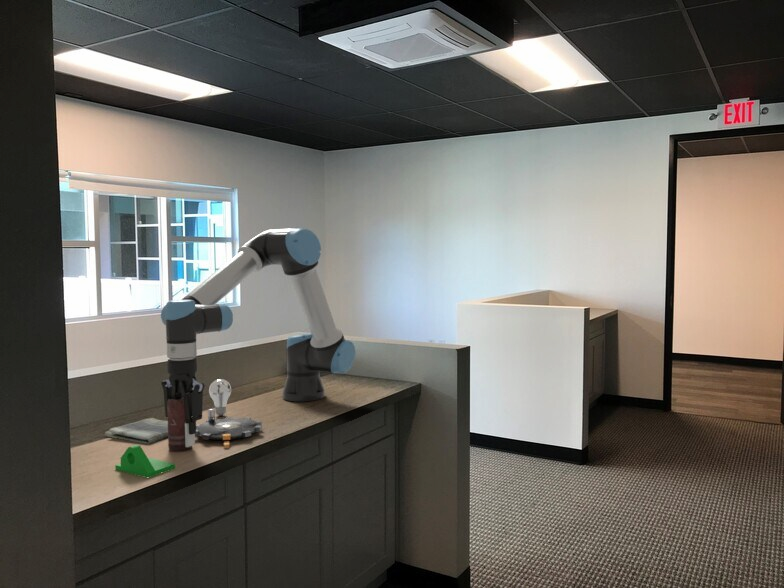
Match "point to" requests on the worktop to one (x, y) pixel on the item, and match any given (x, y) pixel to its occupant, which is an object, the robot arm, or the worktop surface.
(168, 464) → the bracket
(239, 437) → the sprocket base
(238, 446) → the worktop surface
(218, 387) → the light bulb
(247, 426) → the sprocket
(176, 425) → the can
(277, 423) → the worktop surface
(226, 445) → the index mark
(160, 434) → the dish towel
